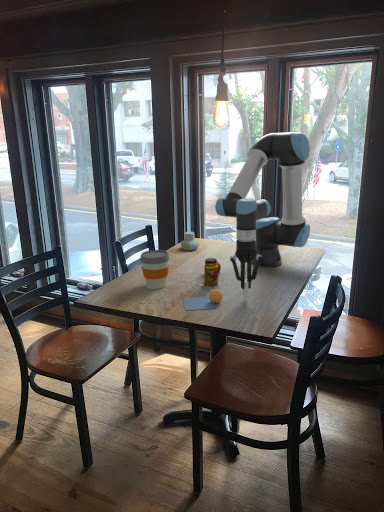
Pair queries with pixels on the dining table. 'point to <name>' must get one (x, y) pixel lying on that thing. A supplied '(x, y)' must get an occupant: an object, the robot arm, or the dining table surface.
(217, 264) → the fruit
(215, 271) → the condiment
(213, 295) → the ball
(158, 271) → the reusable coffee cup
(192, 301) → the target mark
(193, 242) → the air freshener
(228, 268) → the dining table surface
